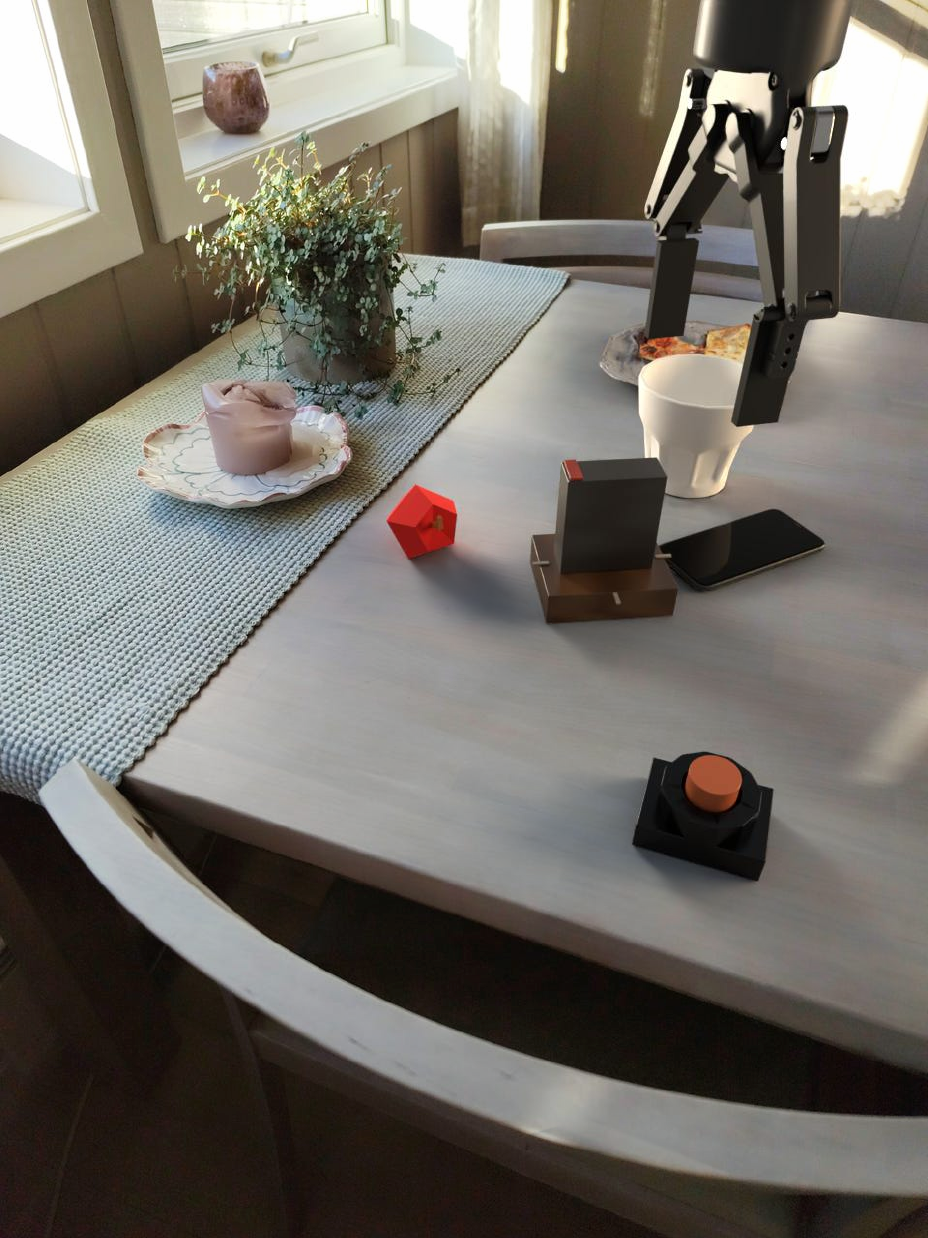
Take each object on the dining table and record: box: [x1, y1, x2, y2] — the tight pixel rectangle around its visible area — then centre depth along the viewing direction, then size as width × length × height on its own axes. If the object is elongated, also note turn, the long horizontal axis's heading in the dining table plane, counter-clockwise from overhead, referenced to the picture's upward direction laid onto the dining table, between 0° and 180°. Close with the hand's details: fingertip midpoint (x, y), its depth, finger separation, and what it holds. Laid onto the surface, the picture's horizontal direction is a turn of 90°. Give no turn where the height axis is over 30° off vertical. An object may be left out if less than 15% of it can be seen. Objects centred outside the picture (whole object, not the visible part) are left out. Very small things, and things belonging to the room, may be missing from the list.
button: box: [685, 755, 742, 812], centre depth 54 cm, size 3×3×2 cm
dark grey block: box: [554, 457, 668, 573], centre depth 72 cm, size 8×3×9 cm, turn 96°
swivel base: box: [529, 533, 679, 625], centre depth 76 cm, size 12×12×3 cm
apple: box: [386, 484, 458, 560], centre depth 80 cm, size 7×7×8 cm
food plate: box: [599, 320, 793, 387], centre depth 111 cm, size 25×23×4 cm
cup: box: [638, 354, 755, 499], centre depth 88 cm, size 12×12×11 cm
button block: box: [631, 751, 775, 882], centre depth 56 cm, size 8×6×4 cm
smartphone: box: [658, 508, 827, 592], centre depth 81 cm, size 7×1×15 cm
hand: (704, 375), depth 57 cm, fingers open, 13 cm apart
